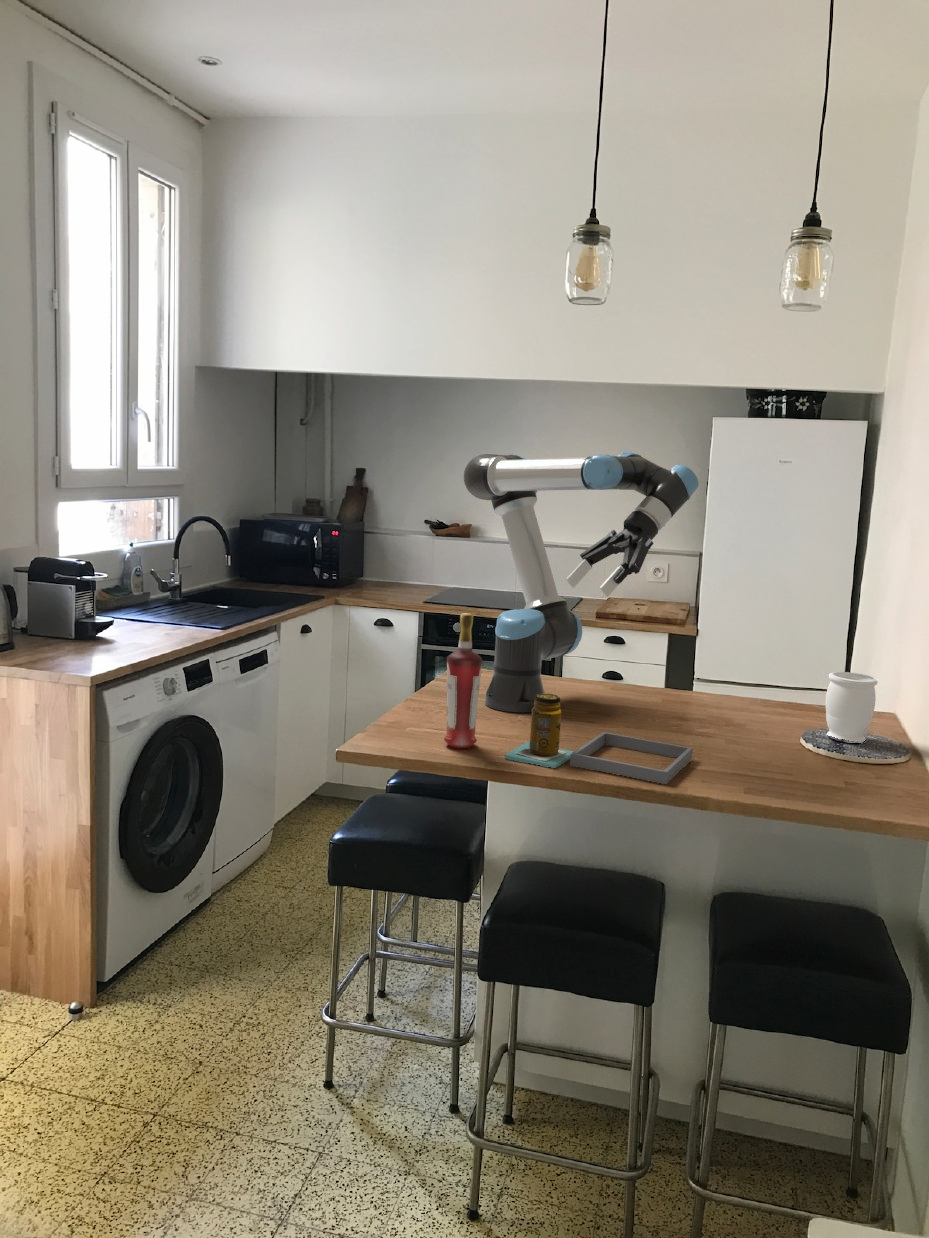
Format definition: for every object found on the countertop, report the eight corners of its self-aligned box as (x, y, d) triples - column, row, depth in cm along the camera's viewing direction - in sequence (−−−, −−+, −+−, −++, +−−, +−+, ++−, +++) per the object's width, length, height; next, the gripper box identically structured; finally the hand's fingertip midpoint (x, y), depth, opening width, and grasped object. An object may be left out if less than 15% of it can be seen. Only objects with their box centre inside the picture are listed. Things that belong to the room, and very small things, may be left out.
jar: (877, 740, 224) (885, 677, 222) (860, 748, 217) (868, 683, 214) (832, 730, 231) (839, 669, 229) (814, 738, 224) (821, 674, 221)
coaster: (504, 758, 196) (504, 754, 196) (526, 745, 206) (526, 742, 206) (555, 768, 191) (555, 764, 191) (574, 755, 201) (575, 751, 201)
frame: (569, 765, 194) (570, 753, 193) (602, 742, 211) (603, 731, 210) (665, 784, 185) (666, 772, 184) (691, 759, 202) (692, 747, 202)
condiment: (566, 752, 200) (570, 696, 198) (545, 761, 193) (549, 703, 191) (536, 745, 204) (540, 690, 202) (514, 754, 197) (518, 696, 195)
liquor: (441, 740, 207) (447, 611, 202) (475, 741, 207) (482, 612, 203) (443, 750, 199) (450, 616, 195) (479, 751, 200) (486, 618, 196)
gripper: (690, 538, 210) (628, 607, 206) (622, 528, 232) (565, 591, 228) (673, 513, 207) (609, 583, 202) (605, 505, 229) (547, 569, 224)
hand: (586, 587), depth 215 cm, fingers open, 13 cm apart
